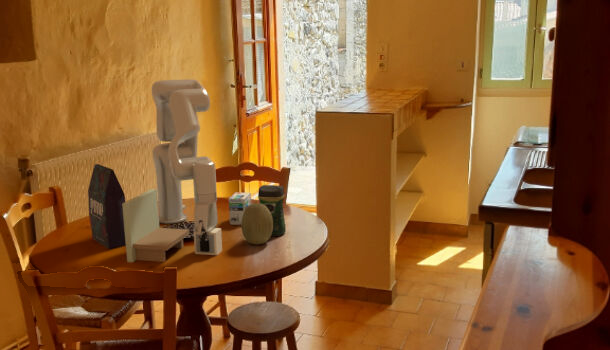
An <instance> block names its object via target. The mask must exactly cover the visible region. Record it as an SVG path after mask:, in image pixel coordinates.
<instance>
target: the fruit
mask: <svg viewBox="0 0 610 350" xmlns="http://www.w3.org/2000/svg"><path fill="white" fill-rule="evenodd" d="M240 226H241V232H242V236H243V237H244V239H245V241H247V242H248V243H250V244H252V245H255V246H257V245H262V244H264V243H266V242H267V241H268V240H269V239H270V238H271V237H272V236H271V234H272V231H273V218H272V215H271V213H270V211H269V209H268V208H267V207H266V206H265V205H263V204H261V203H260V202H253V203H251V204H250V205H249V206H248V207H247V208H246V209H245V211H244V213H243V217H242V222H241V225H240Z"/></svg>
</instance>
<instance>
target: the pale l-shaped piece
mask: <svg viewBox="0 0 610 350" xmlns="http://www.w3.org/2000/svg"><path fill="white" fill-rule="evenodd" d="M122 205H123V217H124V229H125V241H126V245H125V250H126V251H125V252H126V261H127V263H134V262H135V261H143V262H144V261H145V262H158V263H159V262H160V263H165V262H166V260H167V259H166V251H168V250H170V249H171V248H177V249H183V248H184V238H186V237H187V236H188V235H190V229H184V228H183V229H182V228H165V227H160V223H159V205H158V191H157V188H151V189H148V190H147V191H144V192H143V193H141V194H138V195H137V196H134V197H132V198H131V199H129V200H126V201H125V203H123V204H122Z"/></svg>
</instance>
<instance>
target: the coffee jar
mask: <svg viewBox="0 0 610 350" xmlns="http://www.w3.org/2000/svg"><path fill="white" fill-rule="evenodd" d="M257 197H258V201H259V203H261V204H263V205H265V206H266V207H267V208H268V209H269V211H270V213H271V215H272V218H273V231H272V234H271V236H270V237H276V236H277V237H279V236H282V235H284V234H285V233H286V231H287V230H286V222H285V221H286V220H285V213H284V198H285V197H286V196H285V189H284V186H283V185H272V184H271V185H270V184H269V185H267V184H263V185H261V186H259V188H258V194H257Z"/></svg>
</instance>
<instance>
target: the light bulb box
mask: <svg viewBox="0 0 610 350" xmlns="http://www.w3.org/2000/svg"><path fill="white" fill-rule="evenodd" d="M250 204H252V193H251V192H237V191H236V192H234V193H233V194H232V196H230V197H229V198H228V212H229V224H230V225H233V226H234V225H239V226H241V222H242V217H243V213H244V211H245V209H246V208H247V207H248V206H249V205H250Z"/></svg>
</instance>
